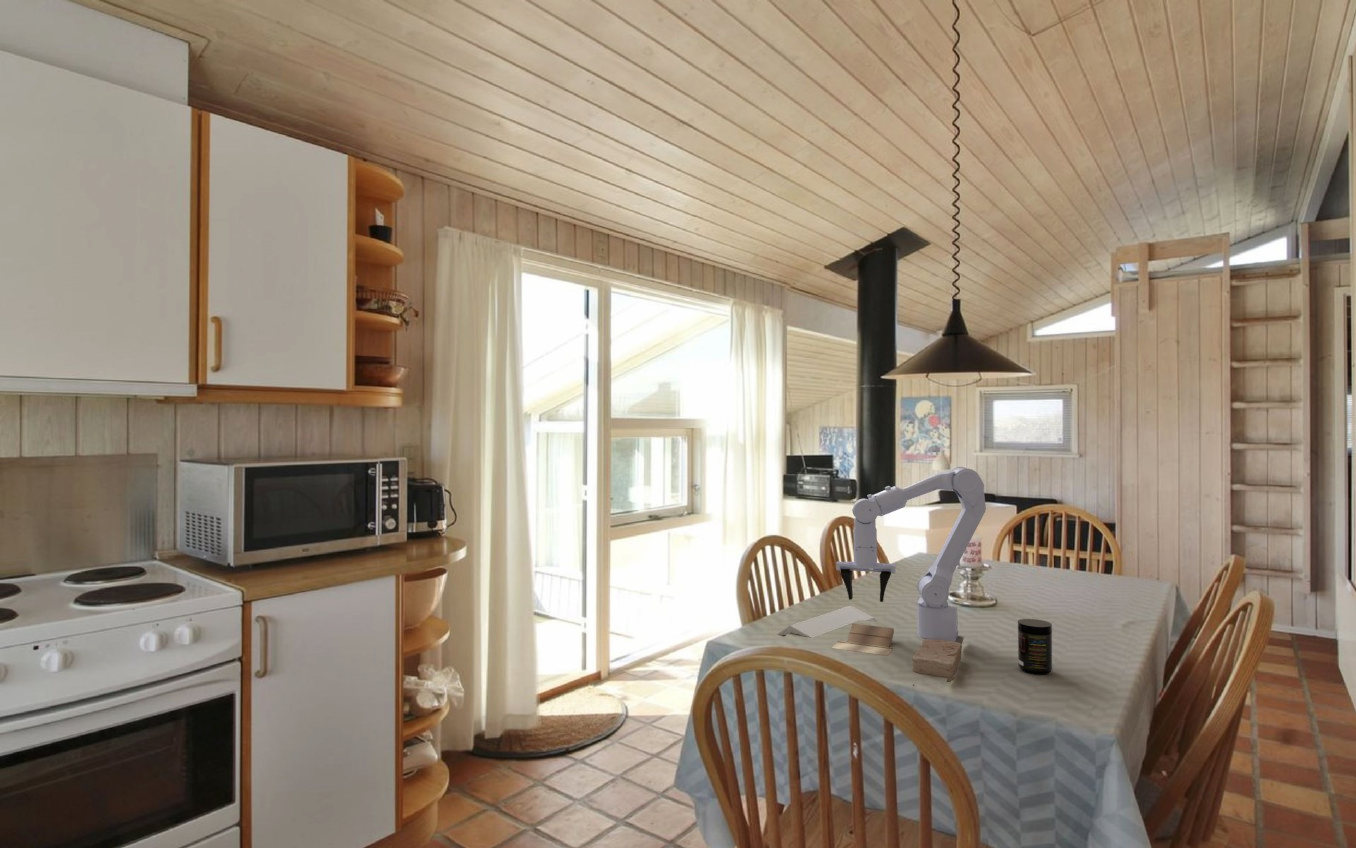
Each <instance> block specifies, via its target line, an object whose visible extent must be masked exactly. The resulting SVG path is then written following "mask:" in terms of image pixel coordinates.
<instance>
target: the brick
mask: <svg viewBox="0 0 1356 848" xmlns="http://www.w3.org/2000/svg"><path fill="white" fill-rule="evenodd" d="M962 648H963V645H962V643H960V642H957V641H946V640H934V639H933V640H932V639H926V638H923V640H922V642H921V645H920V647H919V648H918V649H917V651H916V652H915V653H914V655H913V657H912V669H911V670H912V672H914V673H921V674H926V675H927V674H928V675H932V676H938V677H946V678H947V680H946V682H951V681H952V680H954V677H955V676H956V673H957V671H958V668H959V666H960V663H961V660H962V650H963V649H962ZM956 670H957V671H956ZM952 682H953V681H952ZM952 682H951V683H952Z"/></svg>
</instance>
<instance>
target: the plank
mask: <svg viewBox="0 0 1356 848" xmlns="http://www.w3.org/2000/svg"><path fill="white" fill-rule="evenodd" d="M849 630H850V631H849V634H848V636H847V639H846V642H852V643H860V644H867V645H875V646H883V647H891V645H892V642H893V639H894V638H893V637H894V634H895V629H894V627H885V626H877V625H868V624H860V623H851V627H850V629H849Z"/></svg>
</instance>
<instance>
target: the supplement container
mask: <svg viewBox="0 0 1356 848" xmlns="http://www.w3.org/2000/svg"><path fill="white" fill-rule="evenodd" d="M1017 649H1018V650H1017V657H1018V658H1017V664H1018V668H1019V669H1020V670H1021V671H1022V672H1024V673H1027V674H1031V675H1036V676H1046V675H1049V674H1051V673H1052V671H1053V623H1051V622H1050V621H1046V620H1042V619H1038V618H1037V619H1036V618H1021V619H1018V620H1017Z"/></svg>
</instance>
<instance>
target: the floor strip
mask: <svg viewBox="0 0 1356 848" xmlns="http://www.w3.org/2000/svg"><path fill="white" fill-rule="evenodd" d="M831 649H837V650H842V651H851V652H857V653H858V652H859V653H864V654H865V653H866V654H873V655H880V656H889V655H890V653H891V652H892V651H893V649H894V648H893V647H891V646H889V647H883V646H875V645H867V644H860V643H852V642H847V641H842V640H837V641H836V643H835V644H833V646H832V647H831Z"/></svg>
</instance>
